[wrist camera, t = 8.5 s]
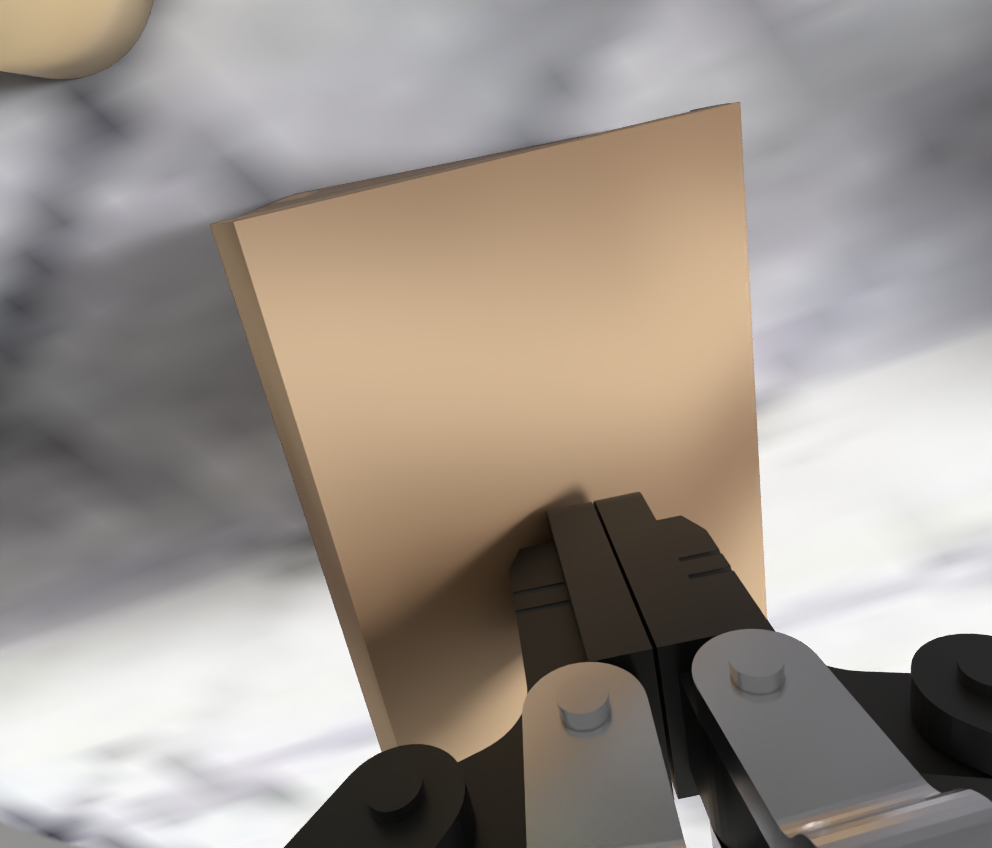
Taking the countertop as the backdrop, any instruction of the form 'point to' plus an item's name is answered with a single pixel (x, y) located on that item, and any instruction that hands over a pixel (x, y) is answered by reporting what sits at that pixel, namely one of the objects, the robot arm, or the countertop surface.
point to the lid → (503, 388)
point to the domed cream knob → (68, 35)
